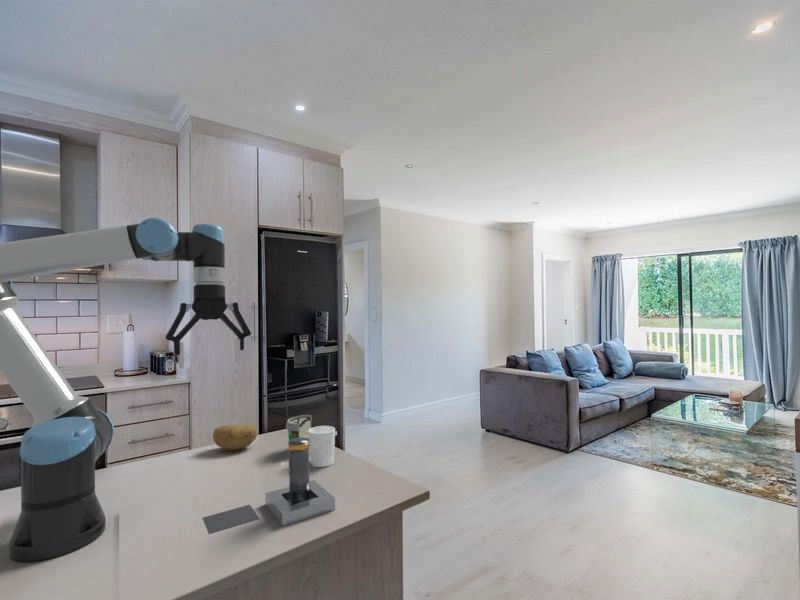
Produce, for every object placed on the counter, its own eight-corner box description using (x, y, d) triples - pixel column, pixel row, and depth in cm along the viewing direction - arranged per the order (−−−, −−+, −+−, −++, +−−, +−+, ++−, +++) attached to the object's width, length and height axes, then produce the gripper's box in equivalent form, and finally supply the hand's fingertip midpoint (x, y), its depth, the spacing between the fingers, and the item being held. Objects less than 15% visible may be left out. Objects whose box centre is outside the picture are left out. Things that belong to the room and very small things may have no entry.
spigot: (293, 518, 91) (292, 445, 91) (286, 509, 95) (285, 439, 95) (313, 512, 94) (312, 441, 94) (305, 504, 97) (304, 436, 98)
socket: (282, 531, 86) (282, 514, 86) (265, 508, 96) (265, 493, 96) (335, 513, 93) (335, 498, 93) (314, 494, 102) (314, 480, 103)
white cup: (329, 469, 118) (329, 434, 118) (304, 467, 120) (303, 432, 120) (339, 459, 126) (338, 426, 126) (315, 457, 128) (314, 425, 128)
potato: (253, 453, 132) (253, 428, 133) (208, 455, 131) (207, 430, 131) (261, 443, 142) (261, 420, 142) (219, 445, 141) (219, 421, 141)
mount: (209, 538, 83) (209, 533, 83) (202, 522, 90) (202, 517, 90) (259, 523, 89) (259, 518, 89) (249, 508, 96) (249, 504, 96)
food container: (294, 443, 142) (294, 414, 142) (312, 443, 141) (311, 414, 141) (279, 456, 129) (279, 424, 130) (298, 457, 129) (297, 424, 129)
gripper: (155, 282, 98) (156, 372, 98) (261, 284, 112) (262, 362, 112) (153, 284, 105) (154, 368, 104) (254, 285, 119) (255, 359, 118)
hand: (210, 365), depth 108 cm, fingers open, 13 cm apart
